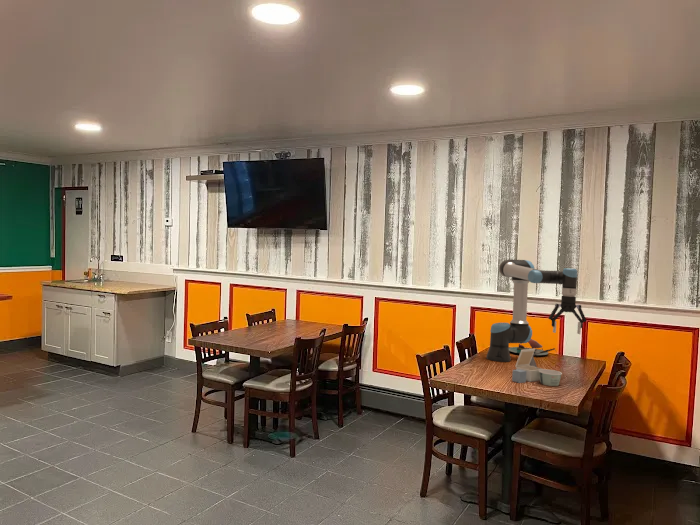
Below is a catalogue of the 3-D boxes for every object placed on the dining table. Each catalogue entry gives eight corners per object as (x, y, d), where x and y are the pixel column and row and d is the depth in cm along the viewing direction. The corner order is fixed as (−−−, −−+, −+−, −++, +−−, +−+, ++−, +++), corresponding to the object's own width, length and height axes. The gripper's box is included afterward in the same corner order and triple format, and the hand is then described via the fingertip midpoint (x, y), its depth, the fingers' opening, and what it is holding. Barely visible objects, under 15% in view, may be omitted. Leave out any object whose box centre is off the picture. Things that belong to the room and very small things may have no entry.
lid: (516, 367, 303) (514, 366, 304) (529, 365, 309) (528, 365, 310) (522, 350, 300) (521, 349, 301) (535, 349, 306) (534, 348, 306)
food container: (549, 387, 285) (549, 374, 285) (532, 381, 296) (533, 369, 296) (566, 386, 290) (567, 373, 290) (549, 380, 301) (550, 368, 301)
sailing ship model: (542, 359, 361) (543, 342, 361) (500, 353, 377) (501, 336, 376) (552, 353, 385) (553, 337, 384) (513, 347, 400) (513, 332, 400)
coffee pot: (516, 371, 319) (517, 346, 318) (516, 367, 330) (517, 343, 329) (555, 376, 312) (556, 350, 312) (554, 372, 323) (555, 346, 323)
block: (512, 380, 295) (512, 369, 295) (518, 380, 298) (519, 369, 298) (519, 383, 291) (520, 371, 291) (525, 382, 294) (526, 371, 294)
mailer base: (515, 377, 303) (516, 366, 303) (529, 375, 309) (529, 365, 309) (530, 381, 295) (530, 370, 295) (543, 380, 301) (544, 369, 301)
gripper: (548, 295, 306) (546, 332, 306) (593, 297, 305) (591, 335, 305) (544, 294, 313) (542, 330, 314) (588, 296, 312) (586, 333, 313)
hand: (566, 333), depth 310 cm, fingers open, 13 cm apart
